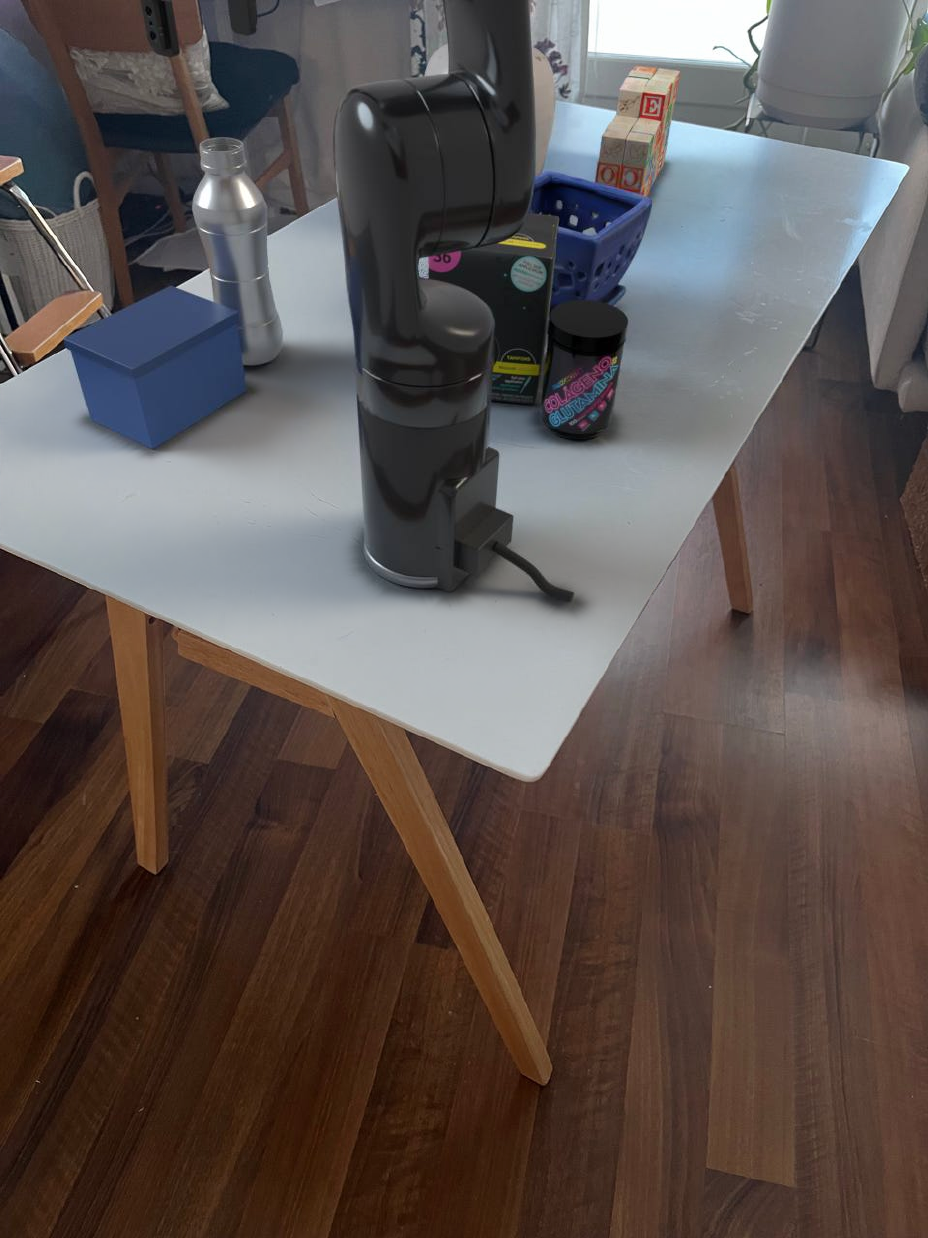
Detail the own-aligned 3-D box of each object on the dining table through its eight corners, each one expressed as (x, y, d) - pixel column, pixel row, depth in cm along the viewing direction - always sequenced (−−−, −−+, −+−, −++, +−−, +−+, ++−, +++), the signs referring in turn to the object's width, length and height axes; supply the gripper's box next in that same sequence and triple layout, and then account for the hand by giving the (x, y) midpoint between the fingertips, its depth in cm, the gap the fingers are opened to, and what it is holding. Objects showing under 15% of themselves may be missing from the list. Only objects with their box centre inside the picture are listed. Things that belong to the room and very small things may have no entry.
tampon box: (424, 394, 90) (424, 243, 79) (439, 347, 96) (442, 202, 86) (538, 407, 89) (553, 255, 78) (545, 358, 95) (561, 212, 85)
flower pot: (582, 354, 96) (598, 239, 88) (474, 317, 101) (479, 205, 92) (638, 306, 104) (657, 196, 96) (534, 273, 109) (544, 166, 100)
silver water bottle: (273, 377, 91) (245, 161, 77) (207, 368, 92) (168, 153, 77) (294, 345, 95) (272, 135, 81) (231, 337, 96) (199, 128, 82)
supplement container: (524, 424, 87) (534, 319, 79) (563, 394, 90) (576, 292, 83) (585, 451, 84) (602, 345, 76) (624, 419, 88) (643, 316, 80)
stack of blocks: (637, 218, 121) (654, 115, 112) (590, 211, 122) (603, 108, 114) (664, 163, 136) (681, 68, 127) (622, 157, 137) (635, 62, 128)
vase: (542, 197, 125) (560, -3, 109) (547, 248, 114) (568, 33, 98) (424, 192, 125) (424, -9, 109) (417, 242, 114) (417, 26, 98)
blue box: (250, 390, 89) (238, 311, 83) (152, 451, 82) (132, 368, 76) (186, 363, 92) (171, 284, 86) (87, 419, 85) (62, 338, 79)
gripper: (125, -225, 57) (175, 72, 68) (281, -231, 66) (302, 34, 77) (43, -233, 60) (104, 54, 71) (203, -239, 68) (234, 18, 80)
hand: (207, 43), depth 74 cm, fingers open, 8 cm apart
